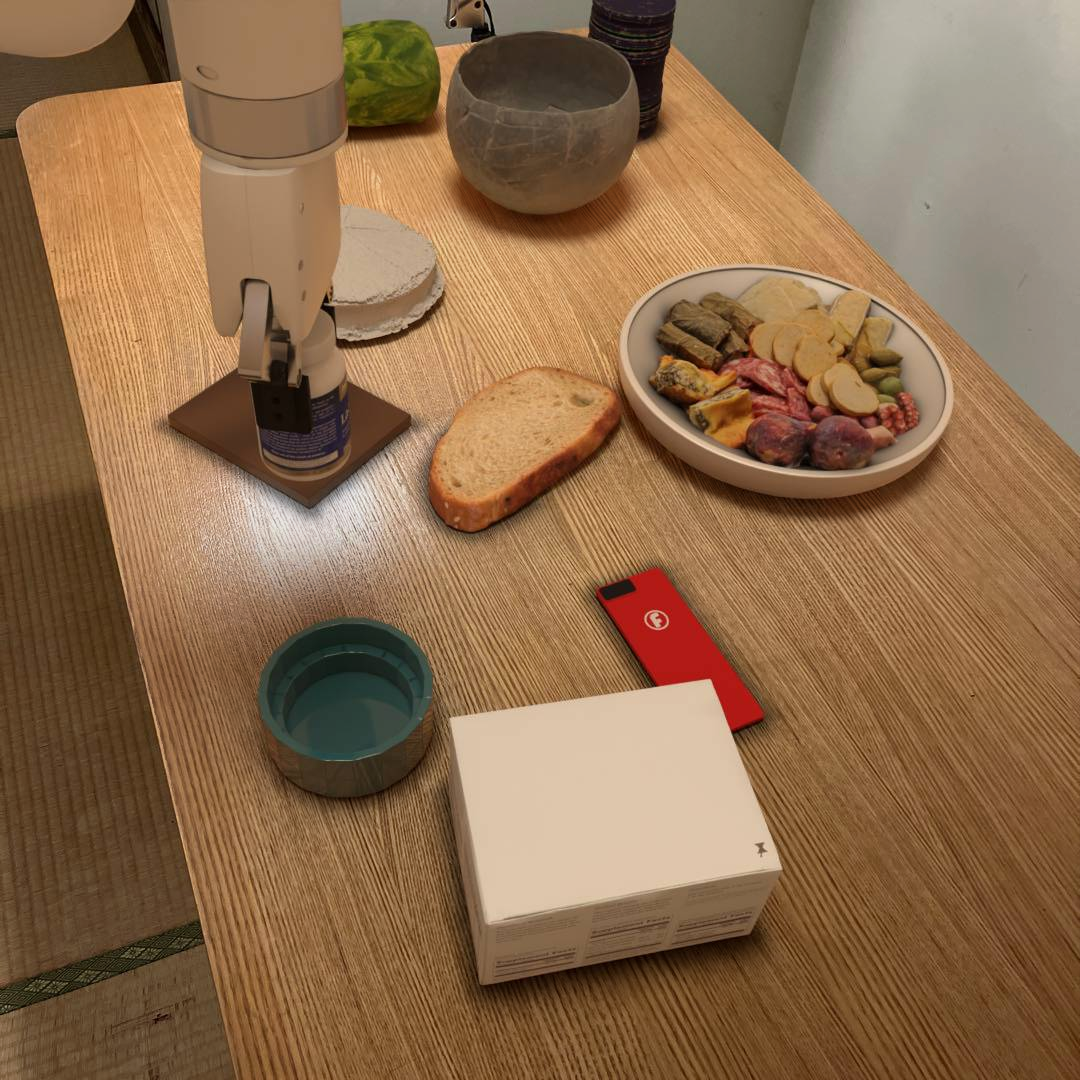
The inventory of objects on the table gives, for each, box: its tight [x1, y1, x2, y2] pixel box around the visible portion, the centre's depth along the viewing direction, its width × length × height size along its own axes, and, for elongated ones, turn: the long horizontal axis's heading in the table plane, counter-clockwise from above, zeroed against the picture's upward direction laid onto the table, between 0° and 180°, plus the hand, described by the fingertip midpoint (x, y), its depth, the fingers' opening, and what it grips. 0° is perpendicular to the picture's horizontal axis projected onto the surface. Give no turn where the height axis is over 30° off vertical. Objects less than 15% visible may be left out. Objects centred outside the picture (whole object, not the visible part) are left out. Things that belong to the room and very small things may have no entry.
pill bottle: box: [249, 309, 351, 481], centre depth 65 cm, size 6×6×10 cm
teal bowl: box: [256, 616, 434, 798], centre depth 72 cm, size 11×11×5 cm
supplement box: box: [448, 679, 783, 986], centre depth 65 cm, size 17×13×9 cm
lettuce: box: [342, 19, 442, 128], centre depth 125 cm, size 12×21×11 cm, turn 111°
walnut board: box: [167, 366, 412, 509], centre depth 93 cm, size 16×13×1 cm
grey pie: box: [324, 203, 446, 342], centre depth 105 cm, size 20×20×7 cm
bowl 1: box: [445, 30, 640, 216], centre depth 116 cm, size 20×20×15 cm
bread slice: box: [427, 365, 623, 533], centre depth 92 cm, size 18×18×4 cm
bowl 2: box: [617, 263, 955, 500], centre depth 97 cm, size 30×30×8 cm
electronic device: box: [595, 567, 765, 733], centre depth 79 cm, size 6×1×15 cm
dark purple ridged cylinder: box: [587, 0, 677, 143], centre depth 127 cm, size 10×10×18 cm
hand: (299, 390), depth 65 cm, fingers closed on pill bottle, 5 cm apart
